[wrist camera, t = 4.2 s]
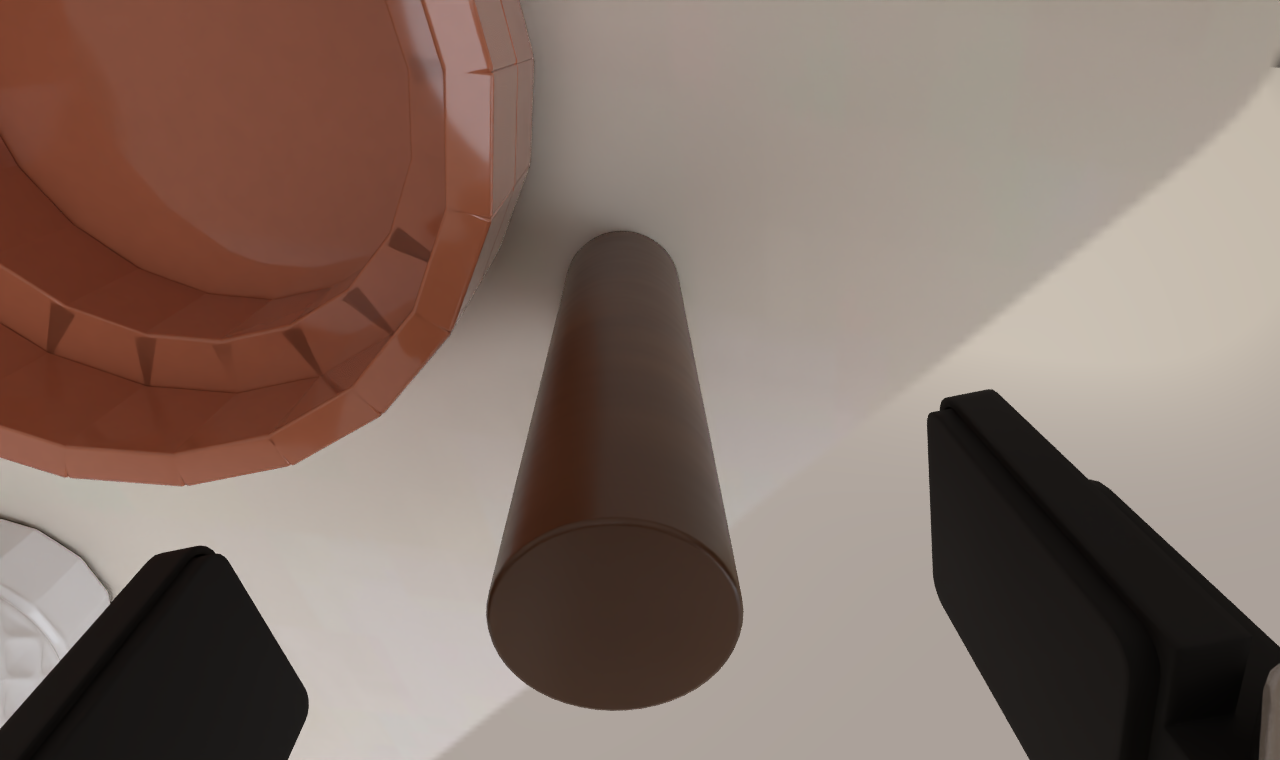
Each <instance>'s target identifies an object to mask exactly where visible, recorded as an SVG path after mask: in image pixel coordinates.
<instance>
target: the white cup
mask: <svg viewBox="0 0 1280 760" xmlns="http://www.w3.org/2000/svg"><path fill="white" fill-rule="evenodd" d="M109 605H110V599H109V594H108V591H107V590H106V588H105V587H104V586H103V585H102V583H101V582H100V581H99V580H98V578H97V577H96V576H95V574H94V573H93V572H92V571H91V569H90V568H89V567H88V566H87V565H86V563H85V562H84V561H83V560H82V558H81V557H79V556H78V555H76V554H75V553H73V552H72V551H70V550H69V549H67V548H65V547H64V546H62V545H61V544H59V543H58V542H56V541H55V540H53V539H52V538H50V537H48V536H47V535H45V534H43V533H42V532H40V531H39V530H37V529H34V528H31V527H27V526H24V525H20V524H17V523H14V522H10V521H7V520H3V519H0V728H1V727H2V726H3V725H4V724H5V723H6V722H7V720H8V719H9V718H10V717H11V716H12V715H13V714H14V712H15V711H16V710H17V709H18V708H19V707H20V706H21V705H22V703H23V702H24V701H25V700H26V699H27V698H28V697H29V695H30V694H31V693H32V692H33V691H34V690H35V689H36V688H37V686H38V685H39V684H40V683H41V682H42V681H43V680H44V678H45V677H46V676H47V675H48V674H49V673H50V672H51V671H52V669H53V668H54V667H55V666H56V665H57V664H58V663H59V661H60V660H61V659H62V658H63V657H64V656H65V655H66V653H67V652H68V651H69V650H70V649H71V648H72V647H73V646H74V644H75V643H76V642H77V641H78V640H79V639H80V638H81V636H82V635H83V634H84V633H85V632H86V631H87V630H88V629H89V627H90V626H91V625H92V624H93V623H94V622H95V621H96V619H97V618H98V617H99V616H100V615H101V614H102V613H103V612H104V610H105V609H106V608H107V607H108V606H109Z"/></svg>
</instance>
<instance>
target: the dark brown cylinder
mask: <svg viewBox="0 0 1280 760" xmlns="http://www.w3.org/2000/svg"><path fill="white" fill-rule="evenodd" d="M486 618H487V624H488V630H489V633H490V636H491V639H492V642H493V645H494V647H495V649H496V651H497V652H498V654H499V656H500V657H501V659H502V660H503V662H504V663H505V664H506V666H507V667H508V668H509V669H510V670H511V671H512V672H513V673H514V674H515V675H516V676H517V677H518V678H519V679H521V680H522V681H523V682H524V683H526V684H527V685H529V686H530V687H532V688H533V689H535V690H537V691H538V692H540V693H542V694H544V695H546V696H548V697H550V698H552V699H555V700H558V701H561V702H563V703H566V704H570V705H574V706H578V707H583V708H589V709H595V710H610V711H616V710H632V709H642V708H647V707H651V706H656V705H660V704H663V703H666V702H669V701H672V700H674V699H677V698H679V697H681V696H684V695H686V694H687V693H689V692H691V691H693V690H695V689H697V688H698V687H699V686H701V685H702V684H704V683H705V682H706V681H708V680H709V679H710V678H711V677H712V676H713V675H715V674H716V673H717V672H718V671H719V670H720V668H721V667H722V666H723V665H724V664H725V662H726V661H727V660H728V658H729V656H730V655H731V653H732V651H733V650H734V648H735V645H736V643H737V641H738V638H739V635H740V631H741V627H742V623H743V604H742V596H741V591H740V586H739V581H738V576H737V571H736V566H735V561H734V556H733V551H732V545H731V540H730V535H729V530H728V525H727V520H726V515H725V510H724V505H723V500H722V495H721V490H720V485H719V480H718V475H717V470H716V465H715V460H714V455H713V449H712V444H711V439H710V434H709V429H708V424H707V419H706V414H705V409H704V404H703V399H702V394H701V389H700V384H699V379H698V374H697V369H696V364H695V359H694V353H693V348H692V343H691V338H690V333H689V328H688V323H687V318H686V313H685V308H684V303H683V298H682V293H681V288H680V283H679V278H678V273H677V270H676V267H675V265H674V262H673V260H672V259H671V257H670V256H669V254H668V253H667V252H666V250H665V249H664V248H663V247H661V246H660V245H659V244H658V243H657V242H655V241H654V240H652V239H650V238H648V237H646V236H644V235H641V234H638V233H634V232H626V231H617V232H611V233H607V234H603V235H601V236H598V237H596V238H594V239H593V240H591V241H589V242H588V243H587V244H585V245H584V246H583V247H582V248H581V249H580V250H579V251H578V253H577V254H576V255H575V257H574V258H573V260H572V262H571V264H570V267H569V269H568V273H567V277H566V281H565V285H564V289H563V293H562V297H561V301H560V305H559V310H558V314H557V318H556V322H555V326H554V330H553V334H552V338H551V342H550V346H549V350H548V354H547V358H546V362H545V366H544V371H543V375H542V379H541V383H540V387H539V391H538V395H537V399H536V403H535V407H534V411H533V415H532V419H531V423H530V427H529V432H528V436H527V440H526V444H525V448H524V452H523V456H522V460H521V464H520V468H519V472H518V476H517V480H516V484H515V488H514V493H513V497H512V501H511V505H510V509H509V513H508V517H507V521H506V525H505V529H504V533H503V537H502V541H501V545H500V549H499V554H498V558H497V562H496V566H495V570H494V574H493V578H492V582H491V586H490V590H489V595H488V600H487V609H486Z"/></svg>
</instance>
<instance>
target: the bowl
mask: <svg viewBox="0 0 1280 760" xmlns="http://www.w3.org/2000/svg"><path fill="white" fill-rule="evenodd" d="M532 58H533V52H532V48H531V44H530V40H529V36H528V32H527V28H526V24H525V20H524V16H523V12H522V9H521V5H520V1H519V0H0V458H3V459H6V460H10V461H13V462H16V463H19V464H23V465H26V466H29V467H32V468H35V469H39V470H42V471H45V472H48V473H52V474H55V475H58V476H61V477H70V478H76V479H90V480H103V481H116V482H130V483H143V484H156V485H170V486H184V485H188V486H190V485H195V484H200V483H205V482H210V481H216V480H221V479H226V478H231V477H236V476H241V475H246V474H251V473H256V472H261V471H267V470H272V469H277V468H282V467H287V466H289V465H295V464H297V463H298V462H300V461H302V460H304V459H305V458H307V457H309V456H311V455H313V454H314V453H316V452H318V451H320V450H321V449H323V448H325V447H327V446H329V445H330V444H332V443H334V442H336V441H337V440H339V439H341V438H343V437H345V436H346V435H348V434H350V433H352V432H353V431H355V430H357V429H359V428H361V427H362V426H364V425H366V424H368V423H369V422H371V421H373V420H375V419H377V418H378V417H380V416H381V415H382V414H383V413H385V412H386V411H387V410H388V408H389V407H390V406H391V405H392V404H393V403H394V401H395V400H396V399H397V398H398V397H399V395H400V394H401V393H402V392H403V391H404V389H405V388H406V387H407V386H408V385H409V384H410V382H411V381H412V380H413V379H414V378H415V376H416V375H417V374H418V373H419V372H420V371H421V369H422V368H423V367H424V366H425V365H426V363H427V362H428V361H429V360H430V359H431V357H432V356H433V355H434V354H435V353H436V352H437V350H438V349H439V348H440V347H441V346H442V344H443V343H444V342H445V341H446V340H447V338H448V337H449V336H450V335H451V333H452V331H453V330H454V328H455V326H456V324H457V323H458V321H459V319H460V317H461V316H462V314H463V312H464V310H465V309H466V307H467V305H468V303H469V302H470V300H471V298H472V296H473V295H474V293H475V291H476V289H477V288H478V286H479V284H480V283H481V281H482V279H483V277H484V276H485V274H486V272H487V270H488V269H489V267H490V265H491V264H492V262H493V260H494V258H495V257H496V255H497V253H498V251H499V250H500V247H501V244H502V242H503V239H504V236H505V233H506V231H507V228H508V225H509V222H510V220H511V217H512V214H513V211H514V209H515V206H516V203H517V200H518V198H519V195H520V192H521V189H522V187H523V184H524V181H525V178H526V176H527V173H528V170H529V168H530V165H529V164H530V162H531V138H532V109H533V80H534V59H532Z"/></svg>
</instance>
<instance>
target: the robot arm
mask: <svg viewBox="0 0 1280 760" xmlns="http://www.w3.org/2000/svg"><path fill="white" fill-rule="evenodd" d="M927 434H928V460H929V485H930V509H931V533H932V534H931V535H932V559H933V578H934V584H935V588H936V591H937V594H938V597H939V599H940V601H941V604H942V606H943V608H944V609H945V611H946V613H947V614H948V616H949V618H950V620H951V622H952V624H953V625H954V627H955V629H956V630H957V632H958V634H959V636H960V638H961V639H962V641H963V643H964V644H965V646H966V648H967V650H968V652H969V654H970V655H971V657H972V659H973V661H974V662H975V664H976V666H977V668H978V669H979V671H980V673H981V675H982V676H983V678H984V680H985V681H986V683H987V685H988V687H989V689H990V691H991V692H992V694H993V696H994V698H995V699H996V701H997V703H998V705H999V706H1000V708H1001V710H1002V711H1003V713H1004V715H1005V717H1006V719H1007V721H1008V722H1009V724H1010V726H1011V728H1012V729H1013V731H1014V733H1015V735H1016V737H1017V738H1018V740H1019V742H1020V744H1021V745H1022V747H1023V749H1024V751H1025V752H1026V754H1027V756H1028V758H1029V759H1030V760H1280V647H1279V646H1278V645H1277V644H1276V643H1275V642H1274V641H1272V640H1271V639H1270V638H1269V637H1268V636H1267V635H1266V634H1265V633H1264V632H1263V631H1262V630H1261V629H1260V628H1258V627H1257V626H1256V625H1255V624H1254V623H1253V622H1252V621H1251V620H1250V619H1249V618H1248V617H1247V616H1246V615H1245V614H1244V613H1242V612H1241V611H1240V610H1239V609H1238V608H1237V607H1236V606H1235V605H1234V604H1233V603H1232V602H1231V601H1230V600H1228V599H1227V598H1226V597H1225V596H1224V595H1223V594H1222V593H1221V592H1220V591H1219V590H1218V589H1217V588H1216V587H1215V586H1213V585H1212V584H1211V583H1210V582H1209V581H1208V580H1207V579H1206V578H1205V577H1204V576H1203V575H1202V574H1201V573H1199V572H1198V571H1197V570H1196V569H1195V568H1194V567H1193V566H1192V565H1191V564H1190V563H1189V562H1188V561H1187V560H1185V559H1184V558H1183V557H1182V556H1181V555H1180V554H1179V553H1178V552H1177V551H1176V550H1175V549H1174V548H1173V547H1172V546H1170V545H1169V544H1168V543H1167V542H1166V541H1165V540H1164V539H1163V538H1162V537H1161V536H1160V535H1159V534H1158V533H1156V532H1155V531H1154V530H1153V529H1152V528H1151V527H1150V526H1149V525H1148V524H1147V523H1146V522H1144V521H1143V520H1142V519H1141V518H1140V517H1139V516H1138V515H1137V514H1136V513H1135V512H1134V511H1132V510H1131V508H1129V507H1128V506H1127V505H1126V504H1125V503H1124V502H1123V501H1122V500H1121V499H1120V498H1119V497H1118V496H1117V495H1116V494H1114V493H1113V492H1112V491H1111V490H1110V489H1109V488H1107V487H1106V486H1105V485H1103V484H1102V483H1100V482H1098V481H1094V480H1088V479H1087V478H1086V477H1085V476H1084V475H1083V474H1082V473H1081V472H1080V471H1079V470H1078V469H1077V468H1076V467H1075V466H1074V465H1073V464H1072V463H1071V462H1069V461H1068V460H1067V459H1066V458H1065V457H1064V456H1063V455H1062V454H1061V453H1060V452H1059V451H1058V450H1057V449H1056V448H1055V447H1054V446H1053V445H1052V444H1050V442H1048V441H1047V440H1046V439H1045V438H1044V437H1043V436H1042V435H1041V434H1040V433H1039V432H1038V431H1037V430H1036V429H1035V428H1034V427H1033V426H1032V425H1031V424H1030V423H1029V422H1028V421H1027V420H1025V419H1024V418H1023V417H1022V416H1021V415H1020V414H1019V413H1018V412H1017V411H1016V410H1015V409H1014V408H1013V407H1012V406H1011V405H1010V404H1009V403H1008V402H1007V401H1005V400H1004V399H1003V398H1002V397H1001V396H1000V395H999V394H998V393H997V392H995V391H994V390H989V389H988V390H983V391H978V392H972V393H967V394H962V395H957V396H952V397H947V398H944V399H943V400H942V402H941V405H940V411H936V412H931V413H930V414H929V415H928V418H927ZM308 708H309V700H308V695H307V692H306V689H305V687H304V686H303V684H302V682H301V681H300V679H299V677H298V676H297V674H296V672H295V671H294V669H293V667H292V666H291V664H290V662H289V661H288V659H287V657H286V656H285V654H284V652H283V651H282V649H281V648H280V646H279V644H278V643H277V641H276V639H275V638H274V636H273V634H272V633H271V631H270V629H269V628H268V626H267V624H266V623H265V621H264V619H263V618H262V616H261V614H260V613H259V611H258V609H257V608H256V606H255V604H254V603H253V601H252V599H251V598H250V596H249V594H248V593H247V591H246V589H245V588H244V586H243V585H242V583H241V581H240V580H239V578H238V576H237V575H236V573H235V571H234V570H233V568H232V566H231V565H230V563H229V561H228V560H227V559H226V558H225V557H224V556H222V555H221V554H215V552H214V551H213V550H211V549H210V548H208V547H206V546H195V547H190V548H185V549H180V550H175V551H170V552H165V553H161V554H158V555H155V556H153V557H152V558H151V559H150V560H149V561H148V562H147V563H146V564H145V565H144V566H143V567H142V568H141V570H140V571H139V572H138V573H137V574H136V575H135V576H134V577H133V579H132V580H131V581H130V582H129V583H128V584H127V585H126V587H125V588H124V589H123V590H122V591H121V592H120V593H119V594H118V596H117V597H116V598H115V599H114V600H113V601H112V602H111V604H110V605H109V606H108V607H107V608H106V609H105V610H104V612H103V613H102V614H101V615H100V616H99V617H98V618H97V619H96V621H95V622H94V623H93V624H92V625H91V626H90V627H89V629H88V630H87V631H86V632H85V633H84V634H83V635H82V636H81V638H80V639H79V640H78V641H77V642H76V643H75V644H74V646H73V647H72V648H71V649H70V650H69V651H68V652H67V653H66V655H65V656H64V657H63V658H62V659H61V660H60V661H59V663H58V664H57V665H56V666H55V667H54V668H53V669H52V671H51V672H50V673H49V674H48V675H47V676H46V677H45V678H44V680H43V681H42V682H41V683H40V684H39V685H38V686H37V688H36V689H35V690H34V691H33V692H32V693H31V694H30V695H29V697H28V698H27V699H26V700H25V701H24V702H23V703H22V705H21V706H20V707H19V708H18V709H17V710H16V711H15V712H14V714H13V715H12V716H11V717H10V718H9V719H8V720H7V722H6V723H5V724H4V725H3V726H2V727H1V728H0V760H288V758H289V756H290V754H291V751H292V749H293V747H294V745H295V742H296V740H297V738H298V736H299V734H300V731H301V729H302V727H303V725H304V722H305V720H306V717H307V714H308Z"/></svg>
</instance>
